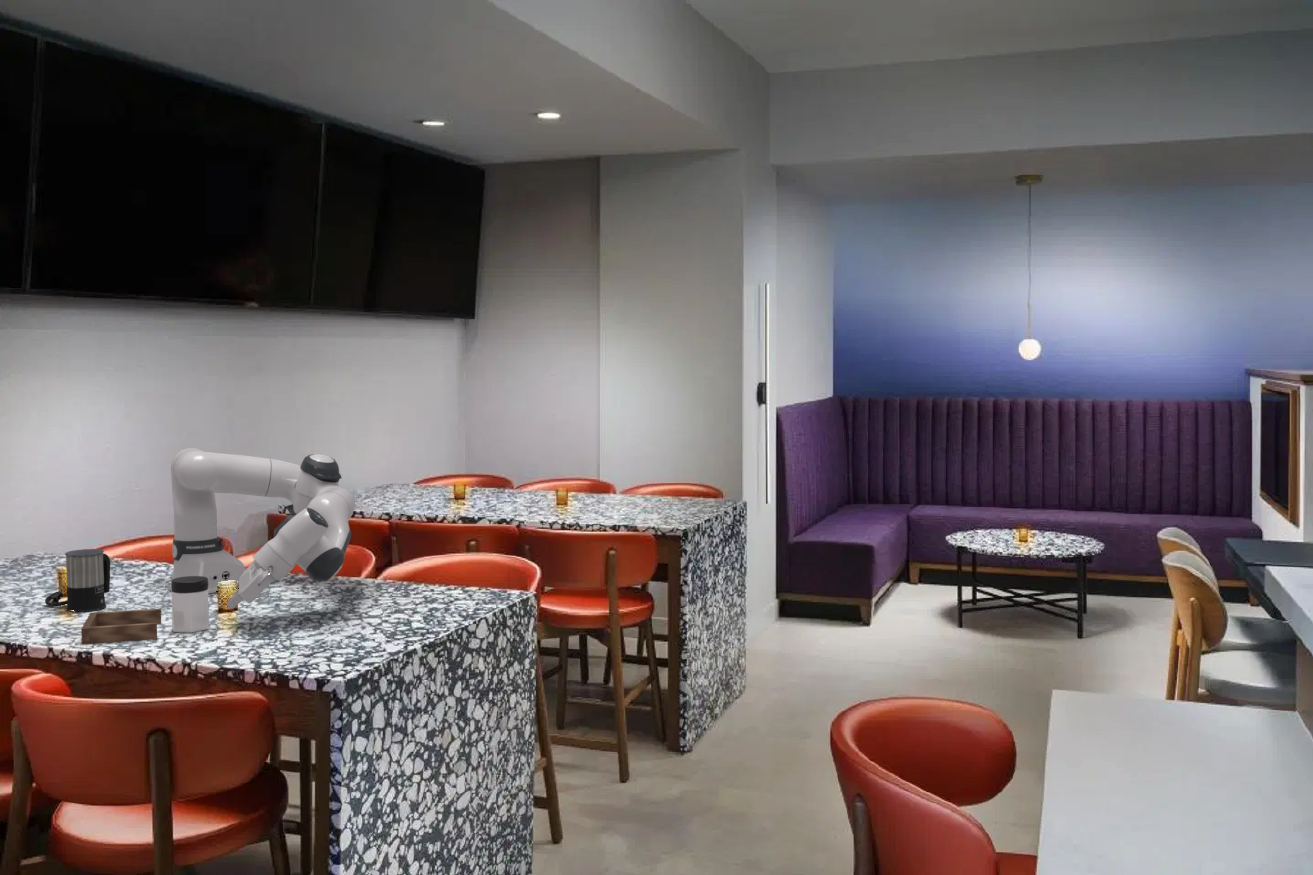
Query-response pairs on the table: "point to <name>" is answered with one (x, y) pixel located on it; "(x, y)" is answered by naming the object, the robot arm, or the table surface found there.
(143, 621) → the brown square open piece
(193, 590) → the jar
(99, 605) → the milk frother
